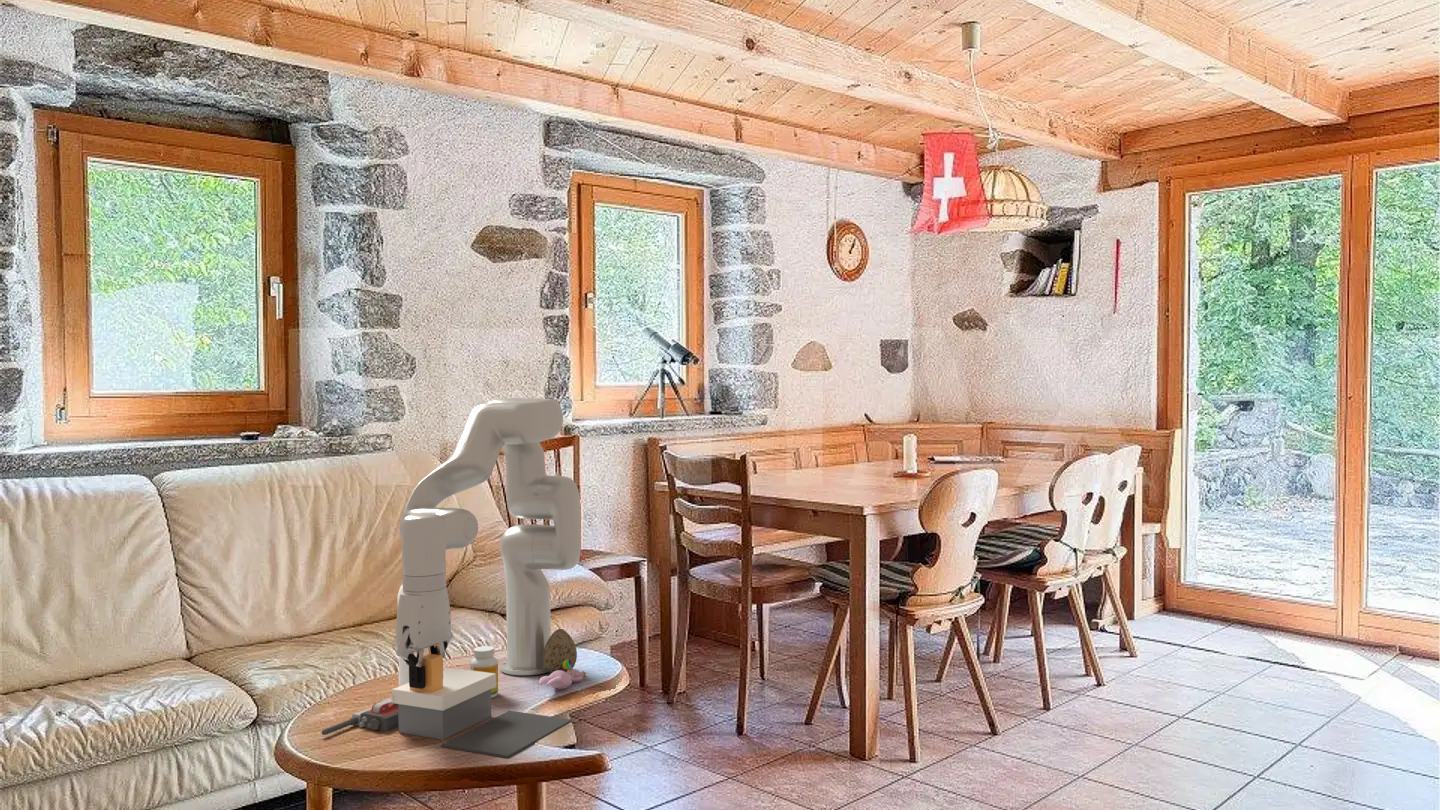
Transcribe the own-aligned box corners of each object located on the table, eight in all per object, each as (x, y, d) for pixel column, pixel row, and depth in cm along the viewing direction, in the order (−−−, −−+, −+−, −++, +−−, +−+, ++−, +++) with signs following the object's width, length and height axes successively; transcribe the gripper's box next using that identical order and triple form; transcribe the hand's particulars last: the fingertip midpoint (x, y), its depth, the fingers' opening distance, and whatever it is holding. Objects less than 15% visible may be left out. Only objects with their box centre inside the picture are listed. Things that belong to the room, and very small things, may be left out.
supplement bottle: (466, 695, 211) (465, 648, 211) (490, 690, 215) (489, 643, 214) (478, 701, 207) (477, 653, 207) (503, 696, 210) (502, 648, 210)
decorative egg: (541, 671, 227) (541, 625, 227) (573, 668, 229) (574, 623, 229) (545, 681, 220) (545, 634, 220) (579, 678, 222) (579, 632, 222)
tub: (448, 709, 202) (448, 673, 202) (491, 716, 198) (490, 679, 198) (398, 732, 189) (397, 694, 189) (443, 739, 185) (442, 700, 185)
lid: (447, 680, 203) (446, 636, 203) (496, 686, 198) (495, 642, 198) (392, 703, 189) (391, 656, 189) (443, 710, 184) (442, 662, 184)
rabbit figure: (566, 683, 223) (528, 692, 210) (568, 655, 224) (531, 661, 210) (592, 686, 221) (555, 695, 207) (594, 657, 222) (558, 664, 208)
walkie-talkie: (399, 707, 205) (318, 739, 187) (399, 685, 205) (317, 715, 187) (433, 713, 201) (354, 747, 183) (433, 690, 201) (353, 722, 183)
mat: (509, 712, 200) (509, 710, 200) (572, 721, 194) (572, 719, 194) (441, 746, 182) (441, 744, 182) (507, 758, 176) (507, 755, 176)
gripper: (438, 573, 197) (440, 669, 198) (375, 590, 182) (377, 694, 183) (470, 576, 194) (472, 673, 195) (409, 593, 179) (411, 699, 180)
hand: (426, 682), depth 189 cm, fingers open, 4 cm apart
